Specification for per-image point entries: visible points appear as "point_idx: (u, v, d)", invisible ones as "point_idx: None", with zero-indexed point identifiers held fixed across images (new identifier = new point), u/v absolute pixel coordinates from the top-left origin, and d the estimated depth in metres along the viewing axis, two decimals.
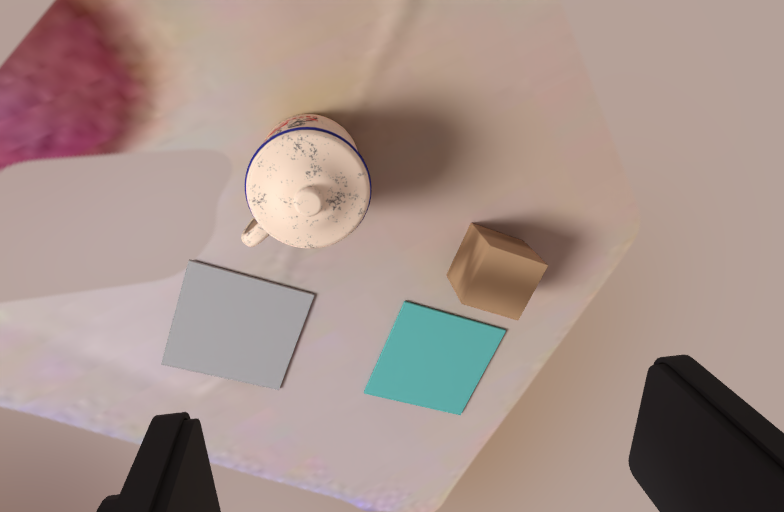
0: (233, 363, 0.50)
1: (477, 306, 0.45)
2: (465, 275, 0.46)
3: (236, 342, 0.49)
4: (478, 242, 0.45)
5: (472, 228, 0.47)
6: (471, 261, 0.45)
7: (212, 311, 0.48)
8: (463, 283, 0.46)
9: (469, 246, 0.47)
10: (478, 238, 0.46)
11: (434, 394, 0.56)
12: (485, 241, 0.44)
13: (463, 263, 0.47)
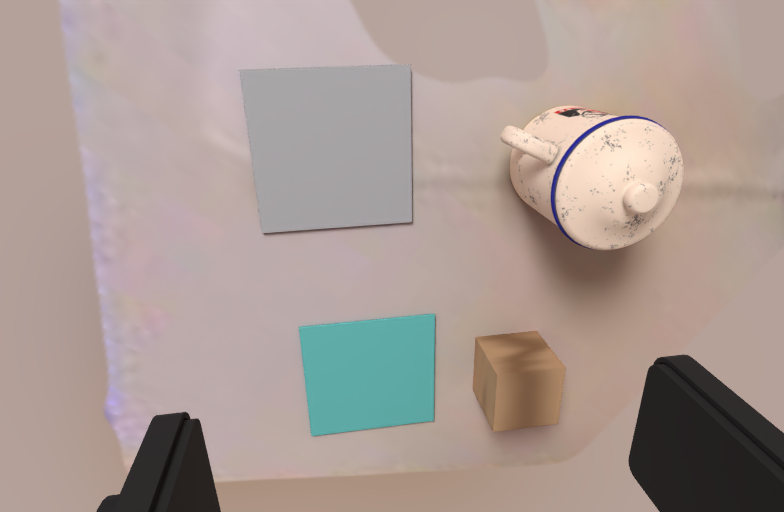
0: (281, 164, 0.37)
1: (498, 390, 0.41)
2: (512, 360, 0.43)
3: (314, 157, 0.37)
4: (545, 352, 0.44)
5: (537, 336, 0.46)
6: (527, 357, 0.43)
7: (349, 113, 0.36)
8: (506, 363, 0.42)
9: (527, 344, 0.45)
10: (545, 349, 0.44)
11: (328, 398, 0.46)
12: (557, 359, 0.43)
13: (511, 349, 0.44)
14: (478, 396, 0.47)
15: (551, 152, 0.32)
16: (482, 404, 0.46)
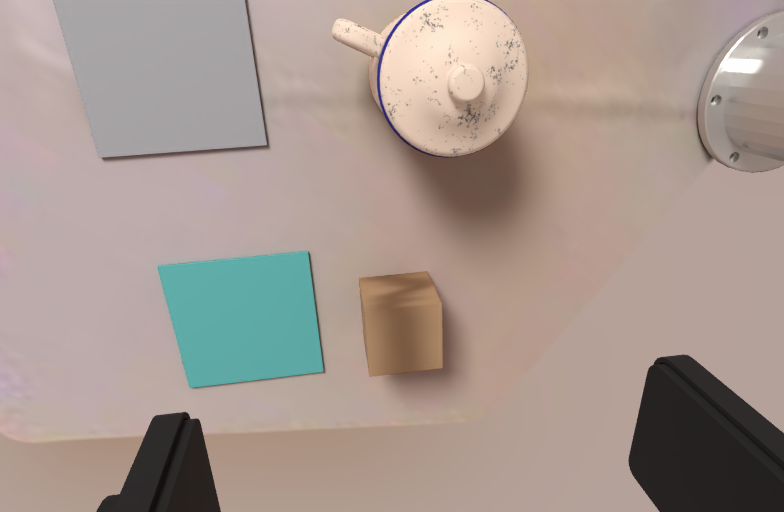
0: (108, 78, 0.34)
1: (368, 329, 0.38)
2: (387, 297, 0.39)
3: (144, 69, 0.34)
4: (426, 290, 0.40)
5: (425, 276, 0.42)
6: (405, 294, 0.39)
7: (176, 18, 0.33)
8: (379, 300, 0.39)
9: (411, 283, 0.41)
10: (428, 287, 0.40)
11: (202, 346, 0.43)
12: (437, 296, 0.39)
13: (392, 288, 0.41)
14: None
15: (377, 42, 0.29)
16: None
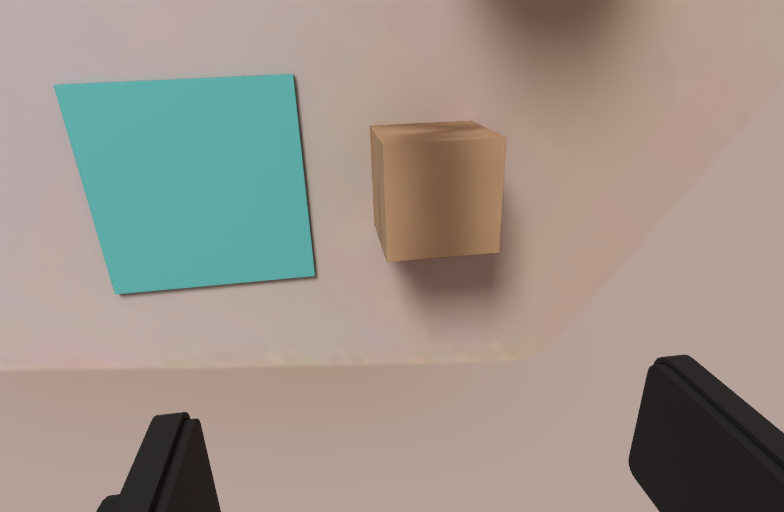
0: None
1: (387, 176, 0.24)
2: (418, 135, 0.25)
3: None
4: (477, 130, 0.26)
5: (470, 123, 0.28)
6: (444, 133, 0.25)
7: None
8: (405, 137, 0.24)
9: (450, 127, 0.27)
10: (477, 129, 0.26)
11: (131, 226, 0.28)
12: (495, 133, 0.25)
13: (422, 130, 0.26)
14: (377, 225, 0.29)
15: None
16: (379, 231, 0.28)
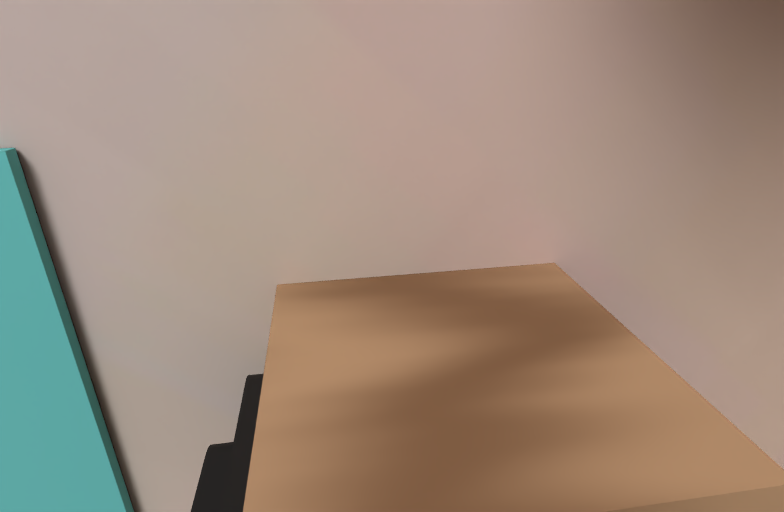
0: None
1: None
2: (410, 410, 0.07)
3: None
4: (614, 361, 0.07)
5: (560, 283, 0.10)
6: (508, 390, 0.07)
7: None
8: (362, 435, 0.06)
9: (513, 317, 0.09)
10: (608, 342, 0.08)
11: None
12: (704, 406, 0.07)
13: (425, 341, 0.08)
14: None
15: None
16: None
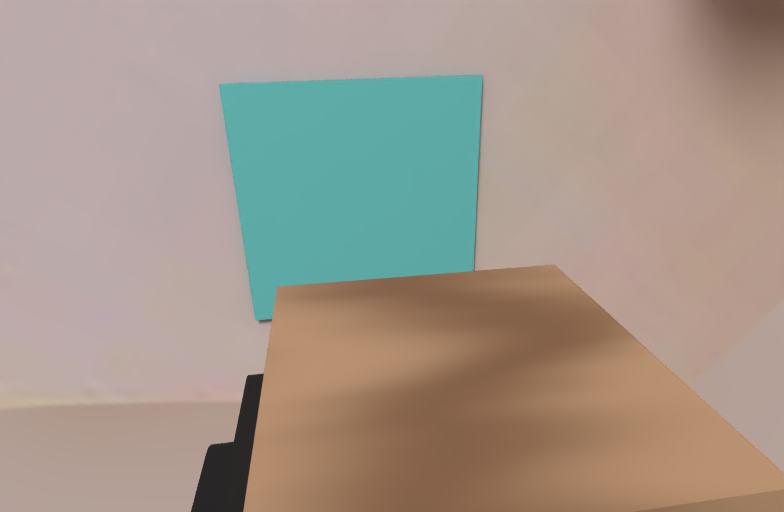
0: None
1: None
2: (410, 414, 0.07)
3: None
4: (615, 364, 0.07)
5: (560, 285, 0.10)
6: (509, 393, 0.07)
7: None
8: (362, 439, 0.06)
9: (513, 320, 0.09)
10: (610, 345, 0.08)
11: (283, 244, 0.25)
12: (705, 410, 0.07)
13: (426, 343, 0.08)
14: None
15: None
16: None
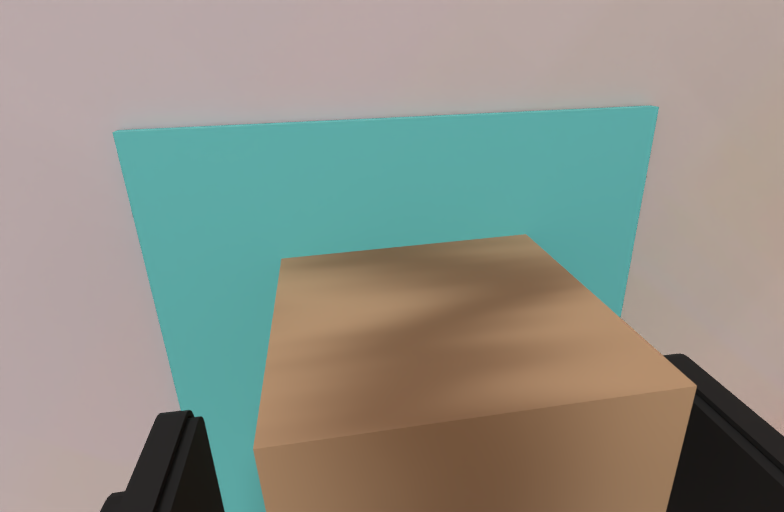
0: None
1: None
2: (392, 346, 0.08)
3: None
4: (566, 308, 0.09)
5: (529, 249, 0.11)
6: (474, 330, 0.08)
7: None
8: (351, 364, 0.08)
9: (484, 277, 0.10)
10: (563, 293, 0.09)
11: None
12: (634, 337, 0.08)
13: (408, 297, 0.10)
14: None
15: None
16: None
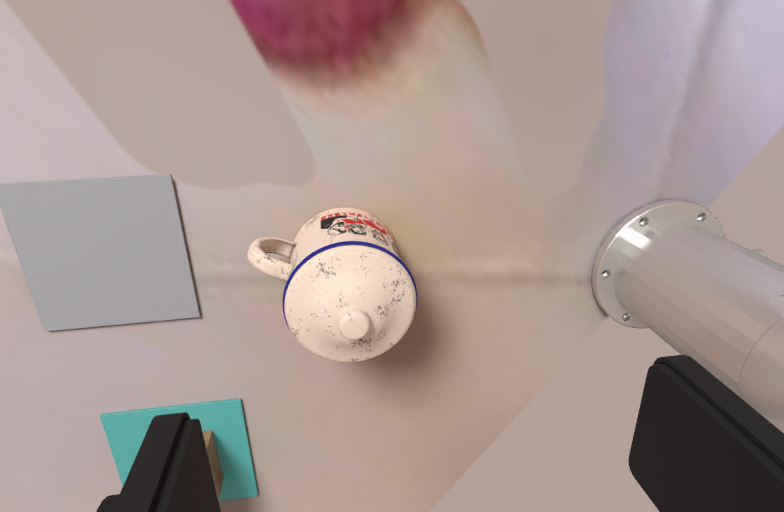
0: (52, 269, 0.38)
1: None
2: None
3: (86, 261, 0.38)
4: None
5: (206, 437, 0.45)
6: None
7: (115, 221, 0.37)
8: None
9: None
10: None
11: None
12: None
13: None
14: None
15: (284, 272, 0.33)
16: None
